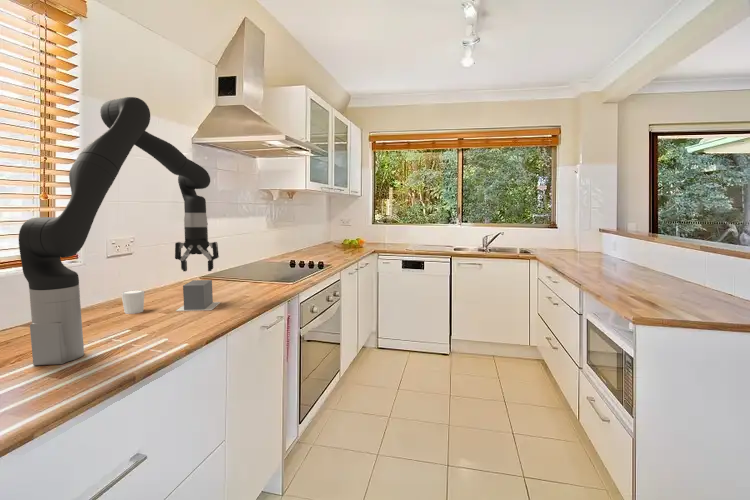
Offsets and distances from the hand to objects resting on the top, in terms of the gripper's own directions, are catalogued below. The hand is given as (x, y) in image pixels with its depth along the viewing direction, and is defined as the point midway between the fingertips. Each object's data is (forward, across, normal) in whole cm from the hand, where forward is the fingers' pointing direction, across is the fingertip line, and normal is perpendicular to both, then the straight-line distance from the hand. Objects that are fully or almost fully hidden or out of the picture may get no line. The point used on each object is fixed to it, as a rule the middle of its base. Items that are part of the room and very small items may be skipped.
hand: (197, 271), depth 148 cm
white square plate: (+13, 0, 0) cm, 13 cm away
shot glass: (+13, -20, -5) cm, 25 cm away
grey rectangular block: (+13, 0, 0) cm, 13 cm away
